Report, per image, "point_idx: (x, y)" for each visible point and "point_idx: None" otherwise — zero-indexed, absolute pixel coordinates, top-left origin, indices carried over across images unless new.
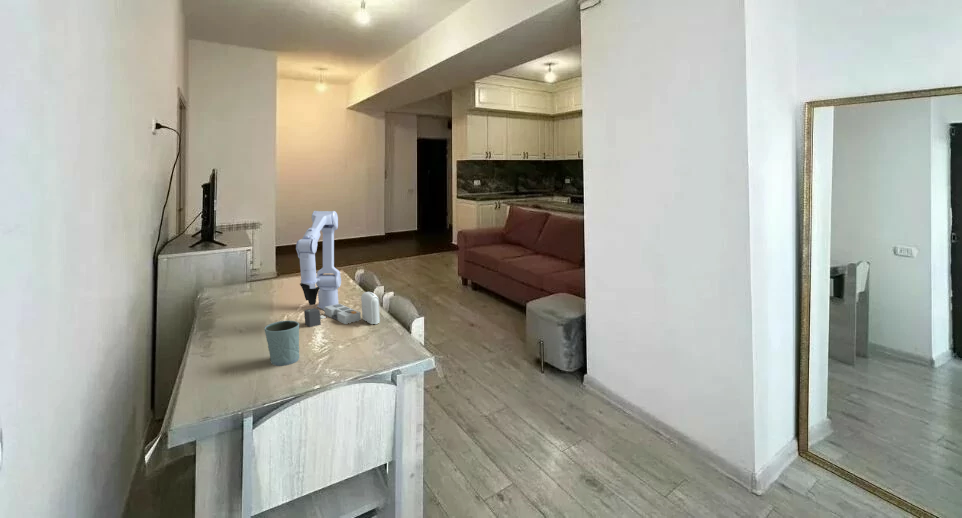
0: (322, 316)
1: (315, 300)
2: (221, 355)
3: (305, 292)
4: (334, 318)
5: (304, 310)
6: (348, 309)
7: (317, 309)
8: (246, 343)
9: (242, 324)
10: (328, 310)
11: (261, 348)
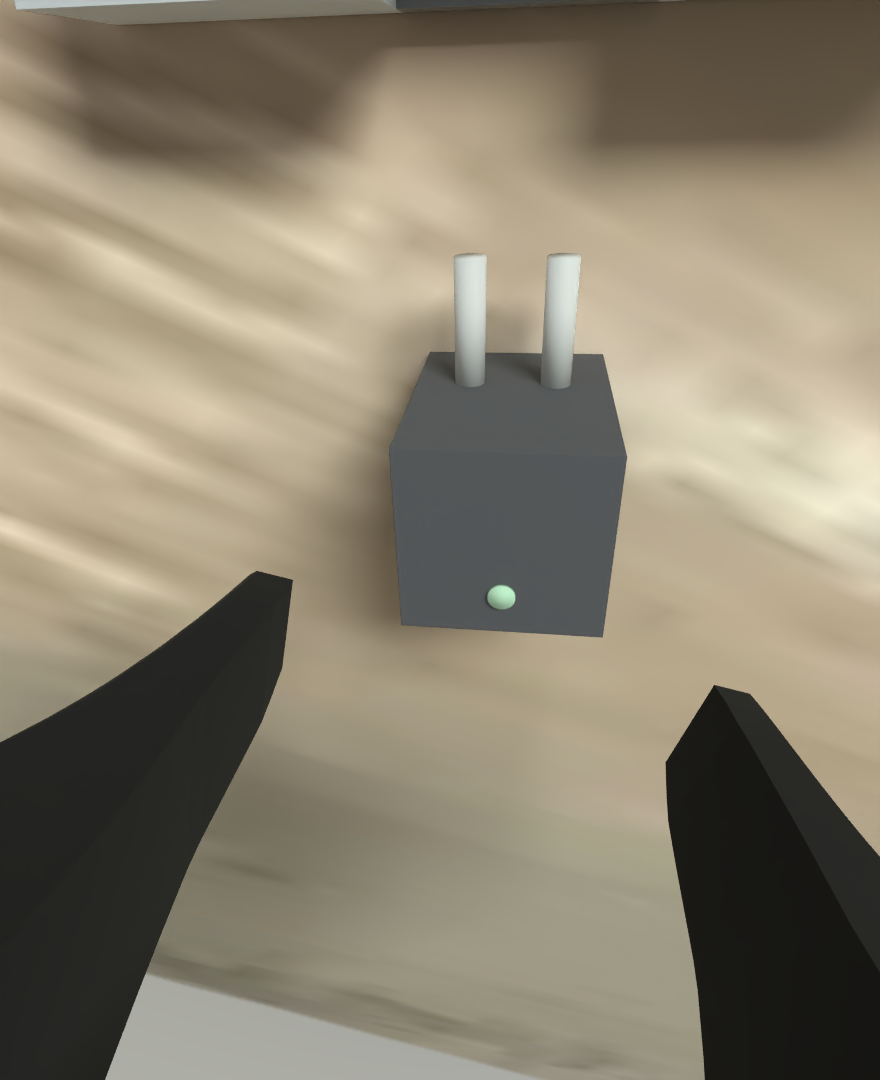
0: (485, 281)
1: (804, 777)
2: (655, 1039)
3: (194, 840)
4: (519, 7)
5: (412, 623)
6: None
7: (532, 460)
8: (562, 935)
9: None
10: (230, 4)
11: None
